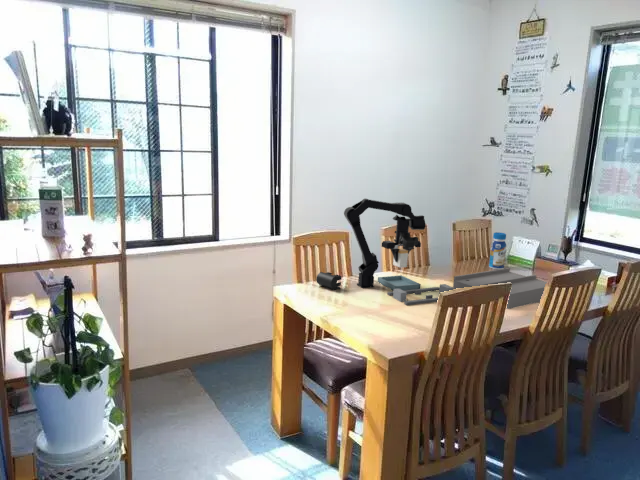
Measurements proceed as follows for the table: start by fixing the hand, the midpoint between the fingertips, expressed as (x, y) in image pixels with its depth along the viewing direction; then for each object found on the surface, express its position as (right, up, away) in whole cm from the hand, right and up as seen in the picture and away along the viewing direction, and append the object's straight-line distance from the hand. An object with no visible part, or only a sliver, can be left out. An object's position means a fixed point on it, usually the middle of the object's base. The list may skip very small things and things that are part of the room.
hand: (400, 261), depth 240 cm
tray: (0, -12, +2) cm, 12 cm away
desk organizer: (+50, -15, -3) cm, 53 cm away
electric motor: (-34, -12, -5) cm, 37 cm away
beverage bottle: (+62, -6, +46) cm, 78 cm away
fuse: (0, -2, 0) cm, 2 cm away
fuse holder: (+8, -15, -14) cm, 22 cm away
